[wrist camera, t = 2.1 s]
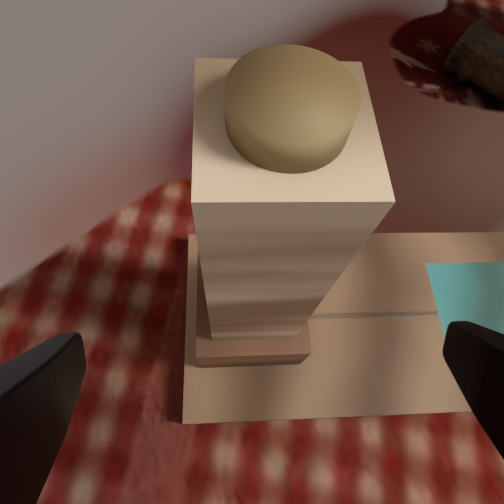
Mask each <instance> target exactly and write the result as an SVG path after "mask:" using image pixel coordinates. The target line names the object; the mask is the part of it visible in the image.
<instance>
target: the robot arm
mask: <svg viewBox="0 0 504 504" xmlns="http://www.w3.org/2000/svg"><path fill="white" fill-rule="evenodd" d="M443 357H444V360H445V362H446V364H447V366H448V367H449V369H450V371H451V373H452V375H453V377H454V379H455V381H456V382H457V384H458V386H459V388H460V390H461V392H462V394H463V396H464V397H465V399H466V401H467V403H468V405H469V407H470V408H471V410H472V412H473V414H474V415H475V417H476V418H477V420H478V421H479V423H480V424H481V426H482V427H483V429H484V431H485V432H486V434H487V435H488V437H489V438H490V440H491V441H492V443H493V444H494V446H495V447H496V449H497V450H498V452H499V453H500V455H501V456H502V458H503V459H504V334H502V333H500V332H497V331H494V330H491V329H489V328H486V327H483V326H481V325H478V324H475V323H472V322H470V321H452V322H450V323H449V325H448V327H447V331H446V336H445V340H444V345H443ZM85 370H86V360H85V353H84V347H83V341H82V337H81V335H80V334H79V333H77V332H68V333H60V334H58V335H56V336H54V337H52V338H50V339H48V340H47V341H45V342H43V343H41V344H39V345H37V346H35V347H34V348H32V349H30V350H28V351H26V352H24V353H22V354H20V355H19V356H17V357H15V358H13V359H11V360H9V361H7V362H6V363H4V364H2V365H0V504H36V503H37V501H38V498H39V496H40V494H41V491H42V489H43V487H44V484H45V482H46V480H47V478H48V475H49V473H50V471H51V468H52V466H53V464H54V461H55V459H56V457H57V454H58V452H59V450H60V447H61V445H62V443H63V440H64V438H65V435H66V433H67V430H68V427H69V424H70V421H71V418H72V414H73V411H74V408H75V404H76V401H77V398H78V394H79V391H80V388H81V385H82V381H83V378H84V375H85Z"/></svg>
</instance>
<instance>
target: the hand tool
mask: <svg viewBox="0 0 504 504" xmlns="http://www.w3.org/2000/svg"><path fill="white" fill-rule="evenodd" d="M443 72H454V73H456V75H457V77H458V80H459V82H463V81H469V82H471V83H473V84H475V85H476V86H478V87H480V88H481V89H483V90H484V91H486V92H488V93H489V94H491V95H493V96H494V97H496V98H498V99H499V100H501V101H503V102H504V37H503V36H501V35H500V34H498V33H496V32H494V31H493V29H492V28H491V27H490V26H489V24H488V23H487V20H486V19H481V20H479V21H478V22H475V23H473V24H471V25H470V26H469V27H468V28H467V29H466V31H465V32H464V34H463V35H462V36H461V37H460V38H459V40H458V42H457V43H456V45H455V46H454V48H453V49H452V51H451V53H450V54H449V55H448V57H447V60H446V62H445V65H444V68H443Z"/></svg>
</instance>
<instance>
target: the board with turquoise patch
mask: <svg viewBox="0 0 504 504" xmlns="http://www.w3.org/2000/svg"><path fill="white" fill-rule="evenodd" d="M198 251H199V250H198V244H197V237H196V235H189V241H188V271H187V301H186V331H185V361H184V391H183V420H182V424H205V423H228V422H250V421H273V420H295V419H317V418H340V417H362V416H385V415H407V414H429V413H452V412H472V410H471V408H470V407H469V405H468V403H467V401H466V399H465V397H464V396H463V394H462V392H461V390H460V388H459V386H458V384H457V382H456V381H455V379H454V377H453V375H452V373H451V371H450V369H449V367H448V366H447V364H446V362H445V360H444V357H443V345H444V340H445V336H446V331H447V327H448V325H449V323H450V322H452V321H470V322H472V323H475V324H478V325H481V326H483V327H486V328H489V329H491V330H494V331H497V332H500V333H502V334H504V232H480V233H479V232H477V233H476V232H471V233H372V234H371V235H370V237H369V238H368V239H367V241H366V242H365V243H364V245H363V246H362V247H361V249H360V250H359V251H358V253H357V254H356V255H355V257H354V258H353V260H352V261H351V262H350V264H349V265H348V266H347V268H346V269H345V270H344V272H343V273H342V274H341V276H340V277H339V278H338V280H337V281H336V282H335V284H334V285H333V286H332V288H331V289H330V290H329V292H328V293H327V295H326V296H325V297H324V299H323V300H322V301H321V303H320V304H319V305H318V307H317V308H316V309H315V311H314V312H313V313H312V315H311V316H310V317H309V319H308V325H309V334H310V343H311V353H312V354H311V355H309V356H308V357H307V358H306V359H305V360H304V361H303V362H302V363H301V364H298V365H271V366H244V367H217V368H200V367H199V364H198V362H197V360H196V312H197V257H198Z"/></svg>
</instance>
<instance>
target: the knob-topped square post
mask: <svg viewBox="0 0 504 504" xmlns="http://www.w3.org/2000/svg"><path fill="white" fill-rule="evenodd" d="M194 87H195V88H194V124H193V158H192V159H193V160H192V194H191V204H192V211H193V217H194V224H195V230H196V237H197V244H198V250H199V251H198V257H197V312H196V360H197V362H198V364H199V367H200V368H217V367H244V366H271V365H298V364H301V363H302V362H303V361H304V360H305V359H306V358H307V357H308V356H309V355H311V354H312V353H311V343H310V334H309V325H308V319H309V317H310V316H311V315H312V313H313V312H314V311H315V309H316V308H317V307H318V305H319V304H320V303H321V301H322V300H323V299H324V297H325V296H326V295H327V293H328V292H329V290H330V289H331V288H332V286H333V285H334V284H335V282H336V281H337V280H338V278H339V277H340V276H341V274H342V273H343V272H344V270H345V269H346V268H347V266H348V265H349V264H350V262H351V261H352V260H353V258H354V257H355V255H356V254H357V253H358V251H359V250H360V249H361V247H362V246H363V245H364V243H365V242H366V241H367V239H368V238H369V237H370V235H371V234H372V233H373V231H374V230H375V229H376V227H377V226H378V224H379V223H380V222H381V220H382V219H383V218H384V216H385V215H386V214H387V212H388V211H389V210H390V208H391V207H392V206H393V204H394V203H395V198H394V194H393V190H392V186H391V182H390V178H389V173H388V170H387V165H386V161H385V157H384V153H383V149H382V144H381V141H380V137H379V132H378V128H377V124H376V120H375V116H374V112H373V107H372V103H371V99H370V95H369V91H368V87H367V83H366V79H365V74H364V70H363V67H362V62H342V61H338V60H336V59H335V58H333V57H331V56H330V55H328V54H326V53H323V52H321V51H319V50H316V49H313V48H309V47H305V46H300V45H290V44H279V45H270V46H266V47H262V48H259V49H256V50H253V51H251V52H249V53H247V54H246V55H244V56H243V57H241V58H240V59H222V58H195V86H194Z"/></svg>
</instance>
